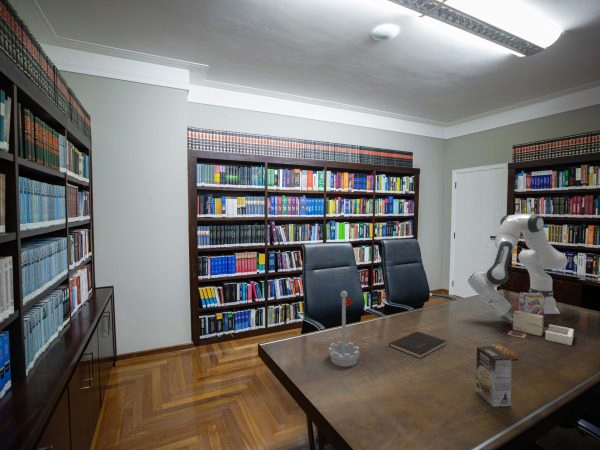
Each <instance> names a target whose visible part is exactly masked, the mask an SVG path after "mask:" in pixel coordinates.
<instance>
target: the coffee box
mask: <svg viewBox="0 0 600 450" xmlns="http://www.w3.org/2000/svg"><path fill="white" fill-rule="evenodd" d="M512 366H513V359H512V358H511V357H509V356H508V355H506V354H504V353H503V352H501V351H500V350H498V349H497V348H495V347H494V346H493V345H490V346H477V347H476V365H475V369H476V371H475V376H476V377H475V391H476V392H477V393H478V394H479V396H481V397H482V398H483V399H484V400H485V401H486V402H487V403H488V404H490V405H491V406H492V407H493V408H496V407H497V408H498V407H499V406H501V407H510V406H511V401H512V400H511V397H512V373H513V372H512V369H513V367H512Z"/></svg>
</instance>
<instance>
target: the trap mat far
mask: <svg viewBox="0 0 600 450" xmlns="http://www.w3.org/2000/svg"><path fill="white" fill-rule="evenodd" d="M546 331H549V327H544V326H543V333H546Z"/></svg>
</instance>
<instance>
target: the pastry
mask: <svg viewBox="0 0 600 450" xmlns="http://www.w3.org/2000/svg"><path fill="white" fill-rule="evenodd" d="M492 346H494V347H495V348H497V349H498V350H500V351H501V352H503V353H504V354H506V355H508V356H509V357H511V358H512V360H515V359H517V357H518V354H517V353H516V352H514V351H513V350H511V349H510V348H507V347H506V346H503V345H501V344H500V345H498V344H496V343H494V344H492Z"/></svg>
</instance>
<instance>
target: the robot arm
mask: <svg viewBox="0 0 600 450" xmlns="http://www.w3.org/2000/svg"><path fill="white" fill-rule="evenodd" d="M499 222H500V226H499V228H498V230H497V233H496V237H495V241H494V246H495V248H497V249H496V250H497V251H496V255H495V258H494V262H493V265H492V266H490V268H489V269H487V270H486V271H480V272H477V271H475V272H474V273H472V275H470V276H469V278H468V280H467V282H468V285H469V286H470V287H471V289H472V290H473V291H474V292H475V293H476V294H478V295H479V297H480V299H482V301H483V302H485V304H486V305H487V306H489V309H490V310H491V311H492V313H493V314H494V315H495V316H496V317H498V318H502V317H505V318H506V319H508V320H509V322H513V313H511V311H510V309H512V305H511V303H510V302H509V301H508V300H507V299H506V297H504V294H503V293H502V292H501V291H497V289H495V288H496V287H500V286H501V285H504V284H506V283H507V282H508V280H509V271H508V266H509V262H510V259H511V256H512V253H513V252H514V251H515V249H516V247H517V245H518V243H519V240H520V238H521V233H522V236H523V239H524V242H525V246H526V247H527V248H528V249H523V250H521V251H520V253H519V254H518V261H519V263H520V264H521V265H523V266H524V268H526V271H528V274H529V280H530V282H529V283H530V285H529V286H530V287H529V289H528V293H539V294H542V295H545V300H544V315H560V314H561V313H560V311H559V309H558V306H557V304H556V299H555V298H554V297H553V296H554V290H553V278H552V276H551V275H549V274H548V273H547V272H546V271H545V270H544V269H548V270H549V269H550V270H562V269H565V268H566V267H567V265H568V263H569V262H568V258H567V256H566V254H564V253H562V252H560V251H559V250H557V249H556V248H554V247H553V246H552V245H551V243H550V242H549V240H548V238H547V235H546V231H545V228H544V226H545V224H544V222H545V221H544V219H543V217H541V216H540V215H537V214H527V213H525V214H524V213H521V214H507V215H504V216H503V217H502V218H501V219H500V221H499Z"/></svg>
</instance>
